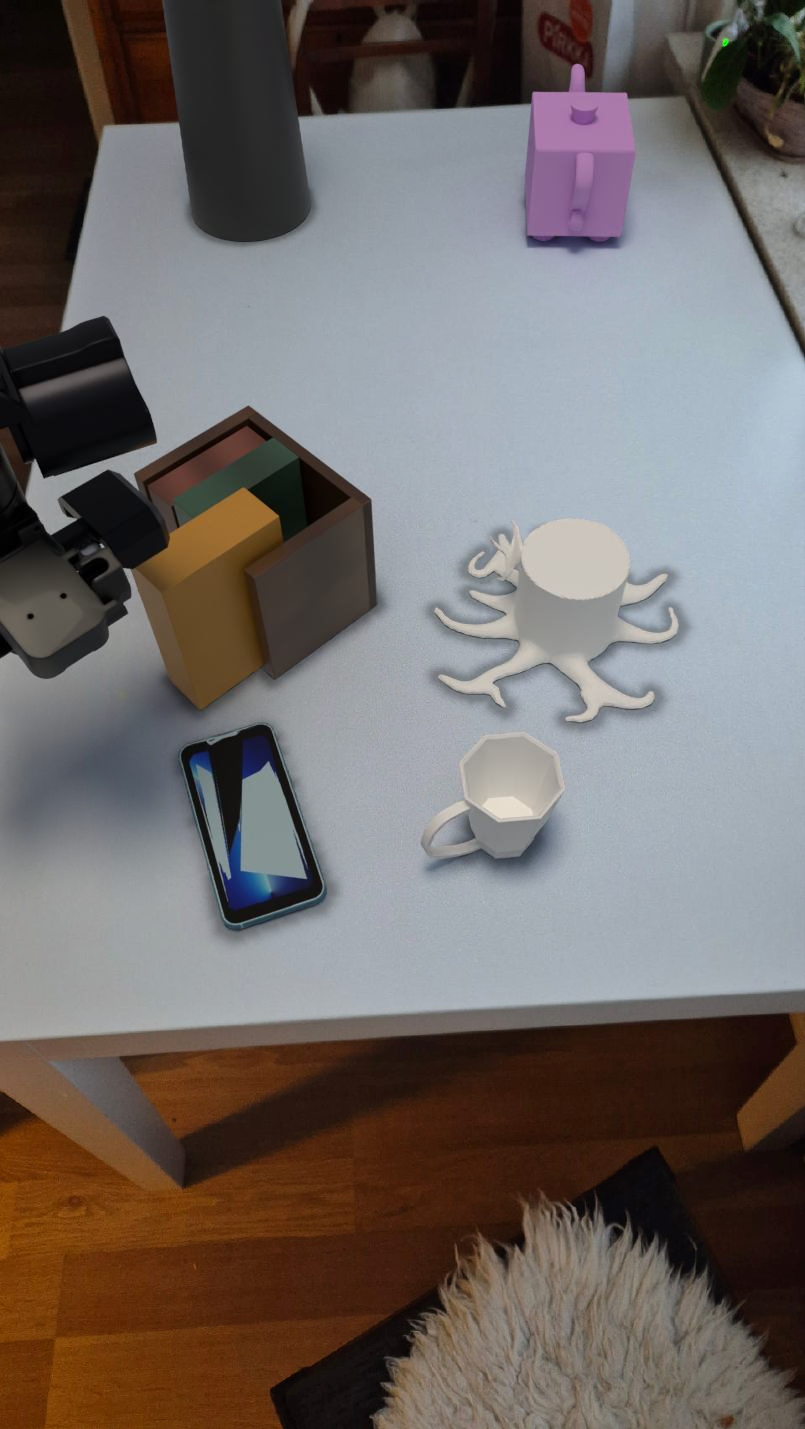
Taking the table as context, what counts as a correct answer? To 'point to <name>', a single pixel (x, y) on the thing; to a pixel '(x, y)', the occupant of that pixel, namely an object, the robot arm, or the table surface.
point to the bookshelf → (314, 522)
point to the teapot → (578, 162)
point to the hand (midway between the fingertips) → (53, 668)
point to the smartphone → (250, 826)
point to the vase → (237, 117)
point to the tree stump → (561, 608)
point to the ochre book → (209, 596)
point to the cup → (502, 796)
